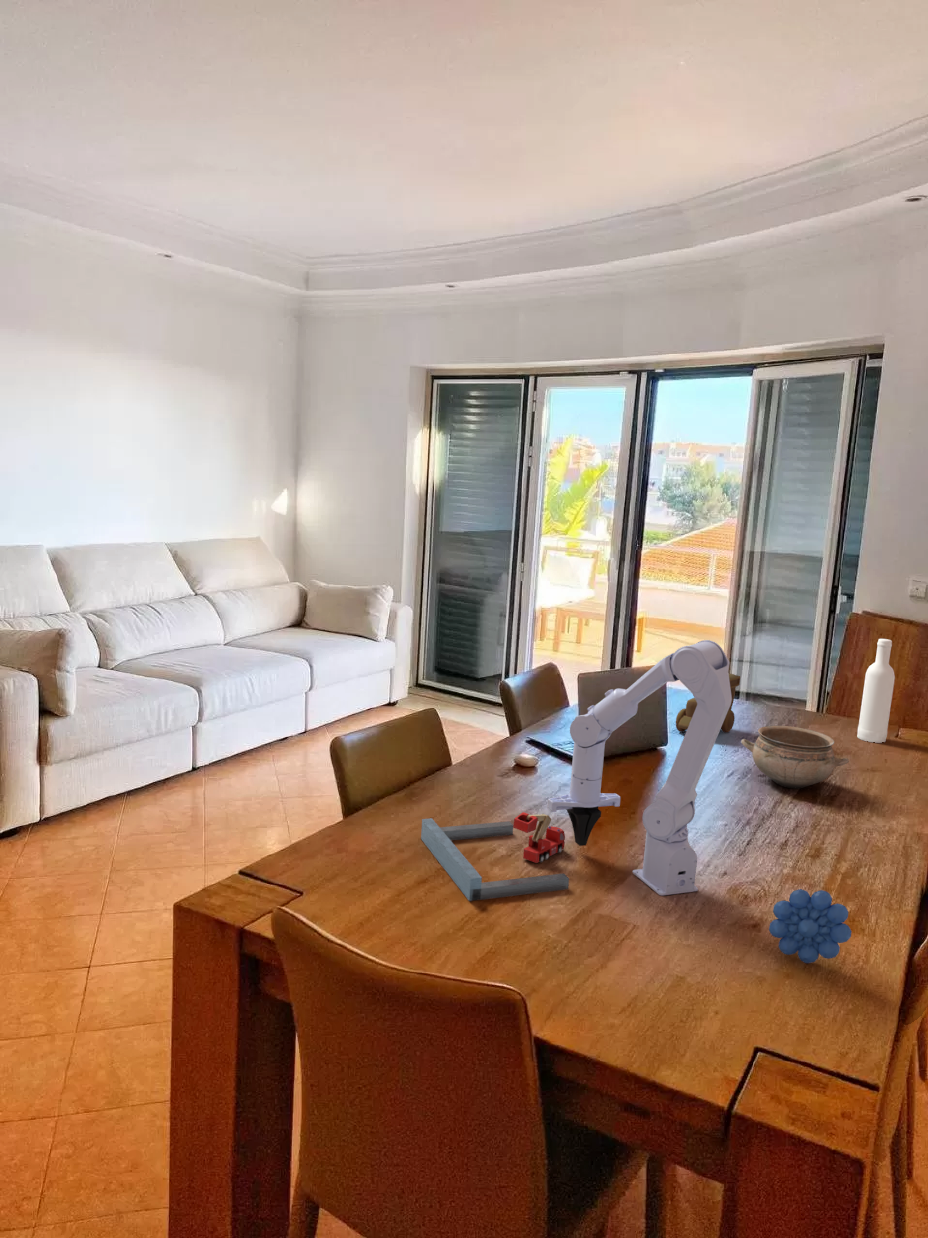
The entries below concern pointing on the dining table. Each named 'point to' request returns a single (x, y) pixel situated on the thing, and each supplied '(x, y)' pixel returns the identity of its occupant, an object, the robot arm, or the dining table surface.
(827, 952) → the blue beaded flower
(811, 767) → the cooking pot
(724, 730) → the wooden toy train
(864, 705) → the bottle
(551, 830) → the toy fire truck
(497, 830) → the garage
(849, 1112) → the dining table surface
